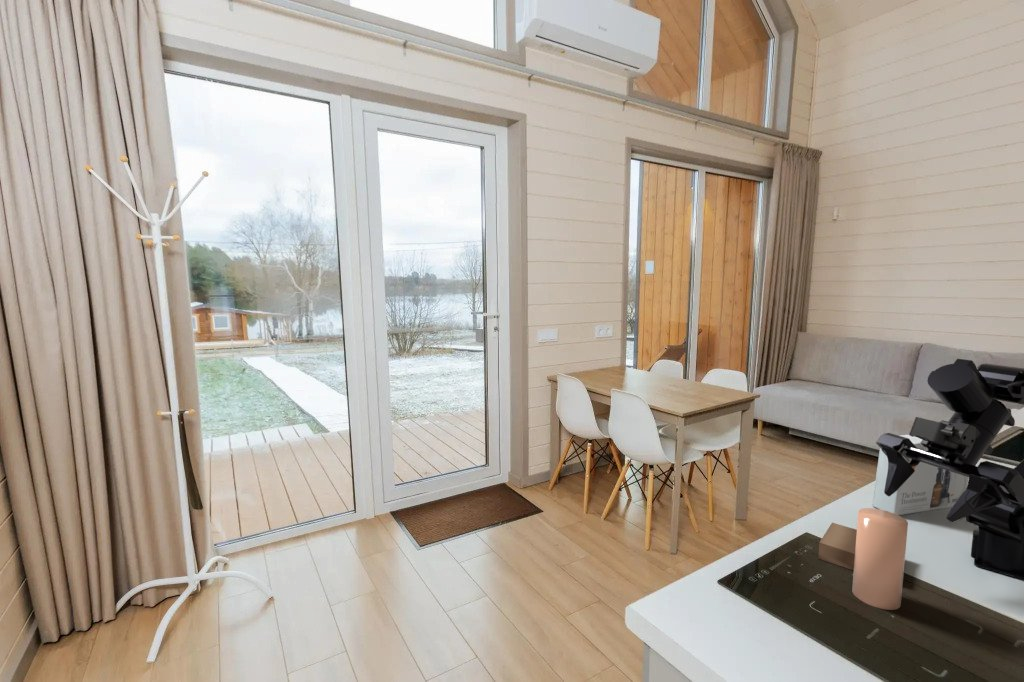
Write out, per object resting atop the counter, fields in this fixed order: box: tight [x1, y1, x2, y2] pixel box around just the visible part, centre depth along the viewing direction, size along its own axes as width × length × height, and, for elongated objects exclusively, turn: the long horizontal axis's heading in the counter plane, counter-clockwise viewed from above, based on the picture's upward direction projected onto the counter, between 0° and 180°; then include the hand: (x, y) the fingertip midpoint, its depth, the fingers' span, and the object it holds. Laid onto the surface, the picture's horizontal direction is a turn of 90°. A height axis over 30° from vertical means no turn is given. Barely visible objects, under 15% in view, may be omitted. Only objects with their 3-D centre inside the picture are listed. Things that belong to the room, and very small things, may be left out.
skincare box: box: [871, 434, 969, 516], centre depth 104 cm, size 21×6×16 cm, turn 105°
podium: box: [817, 522, 857, 571], centre depth 85 cm, size 10×10×3 cm
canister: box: [851, 507, 909, 611], centre depth 73 cm, size 6×6×13 cm
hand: (916, 506), depth 75 cm, fingers open, 9 cm apart
